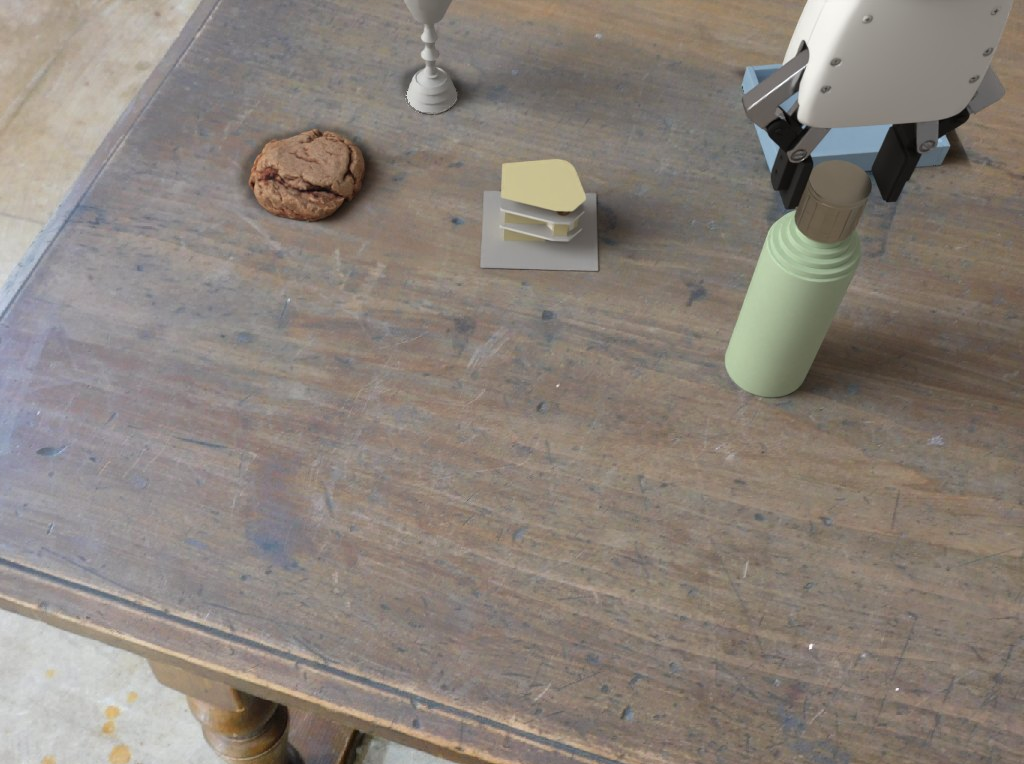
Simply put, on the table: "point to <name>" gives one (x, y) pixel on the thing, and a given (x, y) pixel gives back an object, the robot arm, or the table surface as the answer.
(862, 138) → the tray
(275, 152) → the cookie
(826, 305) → the bottle
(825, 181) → the bronze metal cap
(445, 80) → the chalice
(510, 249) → the stacked layers on plate
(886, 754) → the table surface
